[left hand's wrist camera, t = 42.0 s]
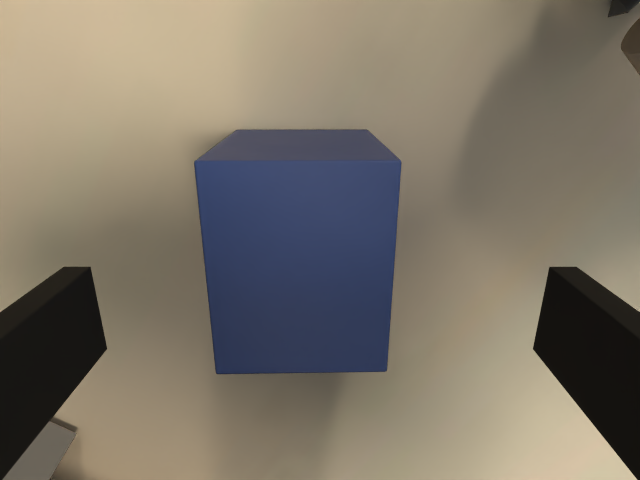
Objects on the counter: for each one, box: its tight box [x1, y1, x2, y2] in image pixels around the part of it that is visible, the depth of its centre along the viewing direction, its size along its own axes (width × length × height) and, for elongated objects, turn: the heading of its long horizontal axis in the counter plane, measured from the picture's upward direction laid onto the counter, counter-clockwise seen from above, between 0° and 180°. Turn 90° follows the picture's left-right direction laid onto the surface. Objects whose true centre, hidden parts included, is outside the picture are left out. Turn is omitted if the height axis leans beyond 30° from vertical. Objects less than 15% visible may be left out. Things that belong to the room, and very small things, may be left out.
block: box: [194, 130, 401, 374], centre depth 17 cm, size 6×7×8 cm
